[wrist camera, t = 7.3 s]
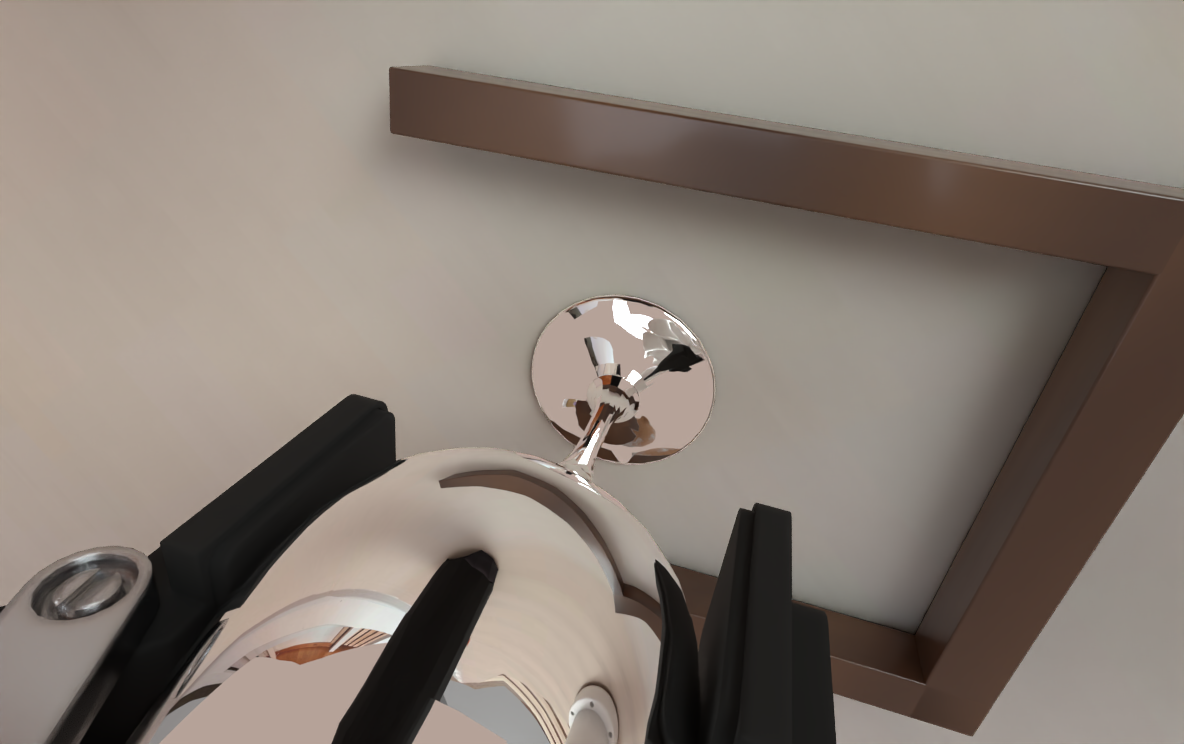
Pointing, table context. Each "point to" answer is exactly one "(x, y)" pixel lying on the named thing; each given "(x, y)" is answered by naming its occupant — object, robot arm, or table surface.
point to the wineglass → (476, 580)
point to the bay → (943, 207)
